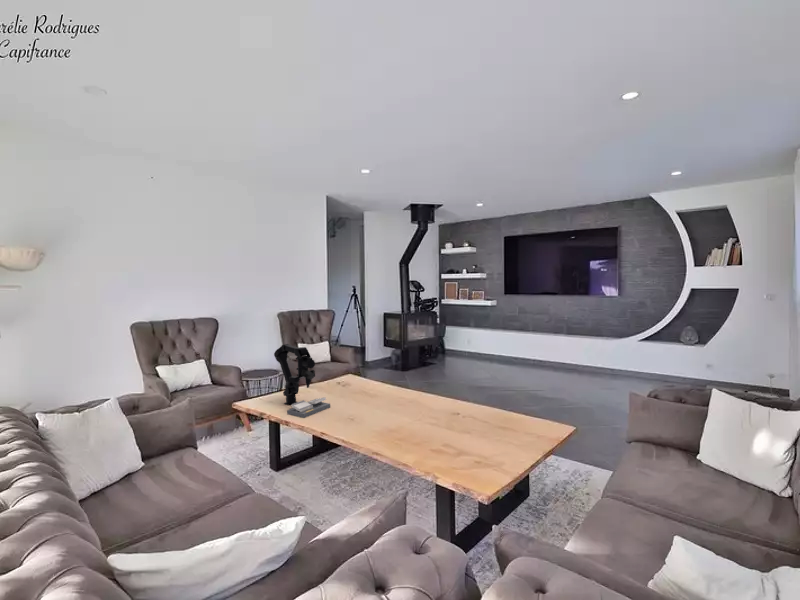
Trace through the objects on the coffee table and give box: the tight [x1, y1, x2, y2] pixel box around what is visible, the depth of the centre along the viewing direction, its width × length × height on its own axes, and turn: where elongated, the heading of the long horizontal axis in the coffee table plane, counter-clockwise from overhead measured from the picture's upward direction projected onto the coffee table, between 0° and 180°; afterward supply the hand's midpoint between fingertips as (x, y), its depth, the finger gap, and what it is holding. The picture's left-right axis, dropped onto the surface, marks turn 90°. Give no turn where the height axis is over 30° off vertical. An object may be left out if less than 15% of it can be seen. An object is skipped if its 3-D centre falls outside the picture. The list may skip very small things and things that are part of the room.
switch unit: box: [286, 401, 331, 419], centre depth 264 cm, size 15×24×4 cm, turn 148°
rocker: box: [306, 397, 327, 404], centre depth 269 cm, size 9×10×2 cm
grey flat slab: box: [290, 399, 313, 412], centre depth 259 cm, size 9×10×2 cm
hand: (302, 389), depth 271 cm, fingers open, 9 cm apart
